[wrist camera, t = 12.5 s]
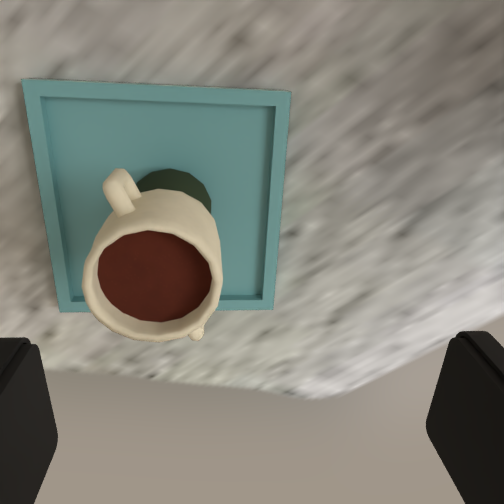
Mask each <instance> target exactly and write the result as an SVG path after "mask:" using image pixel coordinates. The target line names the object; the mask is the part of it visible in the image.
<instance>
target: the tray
mask: <svg viewBox="0 0 504 504" xmlns="http://www.w3.org/2000/svg"><path fill="white" fill-rule="evenodd" d="M21 81H22V87H23V93H24V99H25V105H26V111H27V117H28V124H29V130H30V136H31V142H32V148H33V154H34V160H35V166H36V172H37V178H38V184H39V190H40V196H41V202H42V208H43V214H44V220H45V226H46V232H47V238H48V244H49V250H50V256H51V262H52V269H53V275H54V281H55V287H56V293H57V299H58V305H59V311H60V312H91V311H90V309H89V307H88V305H87V304H86V301H85V298H84V294H83V290H82V278H83V269H84V263H85V260H86V258H87V256H88V254H89V253H90V251H91V249H92V246H93V243H94V239H95V237H96V235H97V234H98V232H99V231H100V229H101V227H102V226H103V224H104V222H105V221H106V219H107V218H108V216H109V215H110V214H111V213H112V212H113V211H114V210H113V209H112V207H111V205H110V203H109V202H108V200H107V198H106V196H105V194H104V192H103V188H102V187H103V182H104V181H105V180H106V179H107V177H108V176H109V175H110V174H111V173H112V172H113V170H114V169H115V168H120V169H125V170H126V171H127V172H128V173H129V174H130V176H131V177H132V179H133V181H134V182H135V184H137V182H138V181H139V180H141V179H142V178H144V177H145V176H146V175H148V174H149V173H151V172H153V171H159V170H164V169H170V168H171V169H175V170H179V171H183V172H188V173H190V174H191V175H193V176H194V177H195V178H196V179H198V180H199V181H200V182H201V183H203V184H204V186H205V188H206V190H207V192H208V194H209V196H210V199H211V215H212V217H213V218H214V220H215V223H216V227H217V231H218V235H219V239H220V247H221V260H222V273H223V284H222V289H221V294H220V298H219V303H218V306H217V308H216V309H215V310H273V305H274V293H275V281H276V269H277V257H278V245H279V233H280V221H281V209H282V197H283V185H284V173H285V161H286V149H287V137H288V125H289V113H290V101H291V92H290V91H288V90H269V89H248V88H227V87H206V86H184V85H163V84H142V83H121V82H100V81H79V80H58V79H36V78H27V79H21Z"/></svg>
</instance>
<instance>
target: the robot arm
mask: <svg viewBox="0 0 504 504" xmlns="http://www.w3.org/2000/svg"><path fill="white" fill-rule="evenodd" d="M426 430H427V434H428V436H429V438H430V440H431V442H432V444H433V446H434V447H435V449H436V451H437V453H438V455H439V457H440V458H441V460H442V462H443V464H444V466H445V467H446V469H447V471H448V473H449V475H450V476H451V478H452V480H453V482H454V484H455V486H456V487H457V489H458V491H459V493H460V495H461V496H462V498H463V500H464V502H465V504H504V348H503V347H502V346H501V345H500V343H499V342H497V340H496V339H495V338H494V337H493V336H492V335H491V334H489V333H488V332H486V331H462V332H459V333H458V334H457V335H456V337H455V338H452V339H451V340H450V342H449V345H448V348H447V351H446V355H445V358H444V362H443V365H442V368H441V372H440V375H439V379H438V382H437V385H436V389H435V392H434V396H433V399H432V403H431V406H430V409H429V413H428V416H427V419H426ZM57 441H58V433H57V428H56V423H55V419H54V415H53V410H52V405H51V401H50V396H49V392H48V388H47V383H46V378H45V374H44V369H43V365H42V360H41V356H40V351H39V348H38V346H37V345H36V344H31V343H30V341H29V339H28V338H25V337H24V338H0V504H34V502H35V499H36V497H37V494H38V492H39V489H40V487H41V484H42V482H43V480H44V477H45V475H46V472H47V470H48V467H49V465H50V462H51V460H52V458H53V455H54V452H55V450H56V446H57Z"/></svg>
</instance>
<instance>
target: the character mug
mask: <svg viewBox="0 0 504 504" xmlns="http://www.w3.org/2000/svg"><path fill="white" fill-rule="evenodd" d="M102 188H103V192H104V194H105V196H106V198H107V200H108V202H109V203H110V205H111V207H112V209H113V210H114V211H113V212H112V213H111V214H110V215H109V216H108V218H107V219H106V221H105V222H104V224H103V226H102V227H101V229H100V231H99V232H98V234H97V235H96V237H95V239H94V243H93V246H92V249H91V251H90V253H89V254H88V256H87V258H86V260H85V263H84V269H83V278H82V290H83V294H84V298H85V301H86V304H87V305H88V307H89V309H90V311H91V313H92V314H93V315H94V316H95V317H96V318H97V319H98V320H99V321H100V322H101V323H102V324H104V325H105V326H106V327H107V328H109V329H110V330H111V331H113V332H116V333H118V334H121V335H123V336H126V337H128V338H131V339H133V340H140V341H151V342H163V341H168V340H173V339H178V338H183V337H185V336H187V335H188V336H189V337H190V338H191V339H192V340H195V341H199V340H200V339H201V338H202V336H203V335H204V324H205V323H206V322H207V320H208V319H209V317H210V316H211V315H212V313H213V312H214V311H215V309H216V308H217V306H218V303H219V298H220V294H221V289H222V284H223V273H222V260H221V247H220V239H219V235H218V231H217V227H216V223H215V220H214V218H213V217H212V215H211V199H210V196H209V194H208V192H207V190H206V188H205V186H204V184H203V183H201V182H200V181H199V180H198V179H196V178H195V177H194V176H193V175H191V174H190V173H188V172H183V171H179V170H175V169H171V168H170V169H164V170H159V171H153V172H151V173H149V174H148V175H146V176H145V177H144V178H142V179H141V180H139V181H138V182H137V184H135V182H134V181H133V179H132V177H131V176H130V174H129V173H128V172H127V171H126V170H125V169H120V168H115V169H114V170H113V172H112V173H111V174H110V175H109V176H108V177H107V179H106V180H105V181H104V182H103V187H102Z"/></svg>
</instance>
